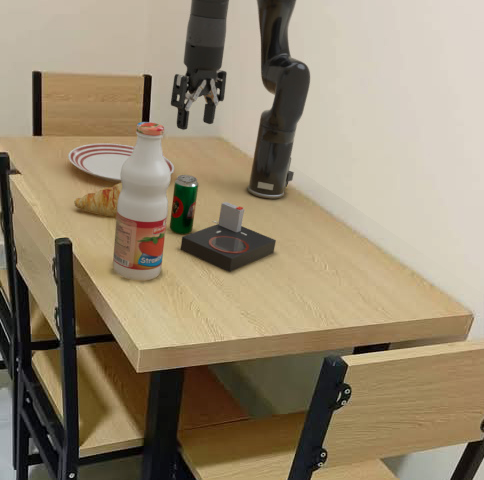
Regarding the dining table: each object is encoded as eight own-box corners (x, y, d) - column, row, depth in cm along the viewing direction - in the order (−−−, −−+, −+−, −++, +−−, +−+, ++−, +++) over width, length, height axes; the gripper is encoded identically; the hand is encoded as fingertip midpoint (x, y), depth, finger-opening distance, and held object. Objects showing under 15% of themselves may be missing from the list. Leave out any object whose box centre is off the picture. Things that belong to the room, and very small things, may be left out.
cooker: (223, 229, 167) (225, 216, 165) (276, 251, 160) (279, 238, 158) (174, 247, 155) (176, 233, 154) (229, 272, 148) (231, 257, 146)
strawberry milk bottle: (124, 256, 148) (137, 114, 134) (168, 268, 146) (185, 125, 131) (103, 273, 141) (114, 125, 126) (149, 286, 138) (165, 136, 124)
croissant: (76, 230, 165) (80, 206, 158) (69, 195, 170) (72, 171, 163) (166, 227, 172) (174, 204, 165) (157, 193, 176) (164, 170, 170)
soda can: (189, 237, 161) (196, 183, 155) (167, 232, 161) (173, 179, 155) (193, 228, 165) (201, 176, 159) (172, 224, 166) (178, 172, 159)
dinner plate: (192, 175, 197) (194, 163, 195) (133, 199, 177) (134, 185, 175) (110, 149, 208) (111, 137, 206) (45, 168, 188) (45, 155, 186)
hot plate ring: (224, 233, 157) (225, 232, 157) (256, 247, 153) (257, 246, 153) (200, 242, 151) (200, 241, 151) (232, 257, 147) (233, 256, 147)
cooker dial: (218, 225, 161) (221, 202, 158) (222, 223, 162) (226, 200, 159) (236, 232, 158) (240, 209, 155) (240, 231, 159) (244, 207, 157)
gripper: (212, 35, 149) (202, 117, 158) (166, 39, 139) (158, 125, 148) (242, 43, 145) (230, 126, 154) (197, 47, 136) (187, 135, 144)
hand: (195, 125), depth 151 cm, fingers open, 8 cm apart
